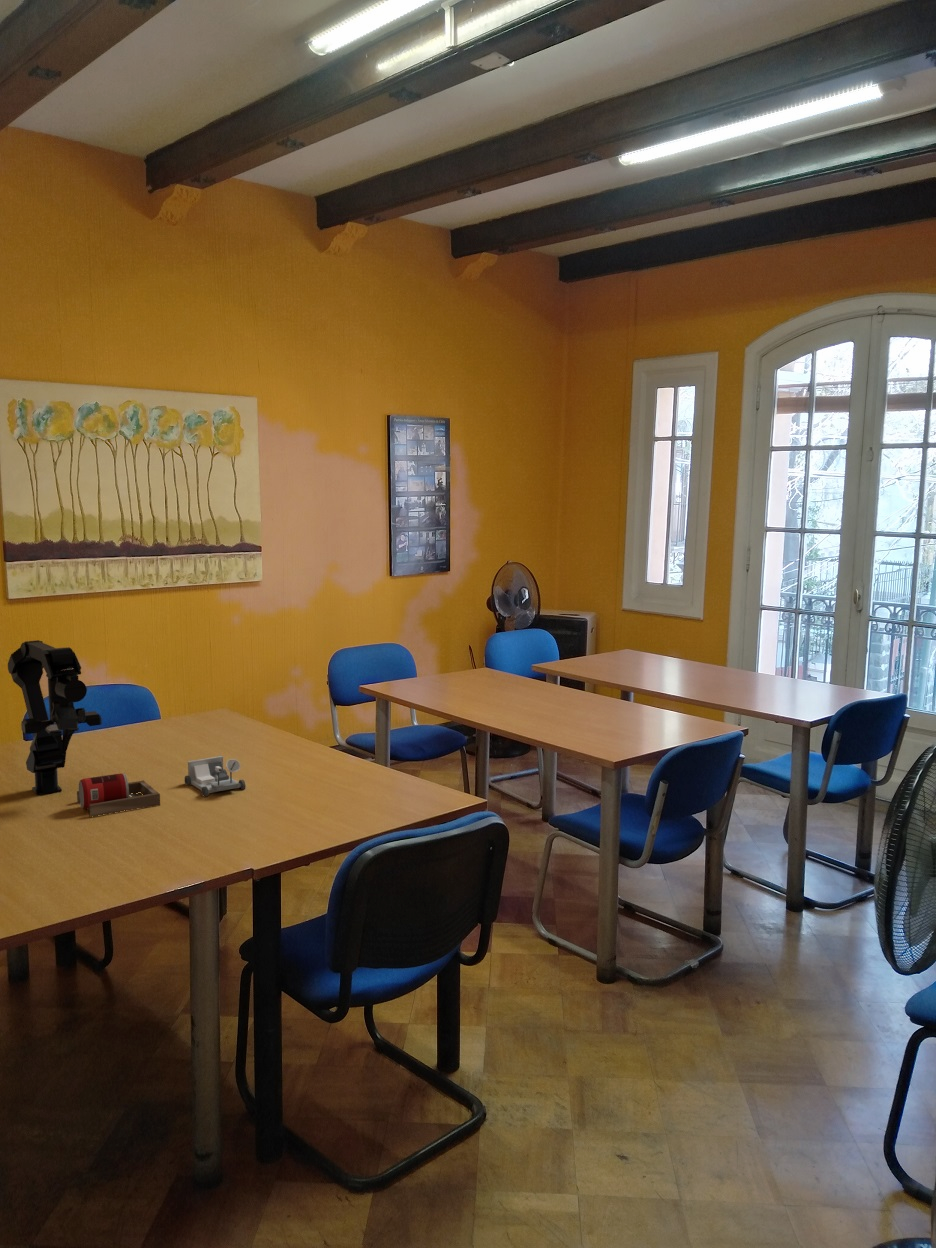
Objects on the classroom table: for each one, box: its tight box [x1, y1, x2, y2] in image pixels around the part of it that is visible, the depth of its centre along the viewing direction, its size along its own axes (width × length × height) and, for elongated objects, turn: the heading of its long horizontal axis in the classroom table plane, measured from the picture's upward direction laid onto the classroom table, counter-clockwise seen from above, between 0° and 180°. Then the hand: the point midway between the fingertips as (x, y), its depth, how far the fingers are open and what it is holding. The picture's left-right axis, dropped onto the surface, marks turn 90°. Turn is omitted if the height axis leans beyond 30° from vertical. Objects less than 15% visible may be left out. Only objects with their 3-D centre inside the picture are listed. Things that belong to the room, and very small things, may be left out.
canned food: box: [78, 772, 129, 810], centre depth 246 cm, size 8×8×11 cm
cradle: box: [76, 779, 161, 818], centre depth 250 cm, size 14×17×3 cm
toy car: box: [184, 755, 246, 798], centre depth 263 cm, size 18×10×12 cm
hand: (63, 754), depth 249 cm, fingers closed
